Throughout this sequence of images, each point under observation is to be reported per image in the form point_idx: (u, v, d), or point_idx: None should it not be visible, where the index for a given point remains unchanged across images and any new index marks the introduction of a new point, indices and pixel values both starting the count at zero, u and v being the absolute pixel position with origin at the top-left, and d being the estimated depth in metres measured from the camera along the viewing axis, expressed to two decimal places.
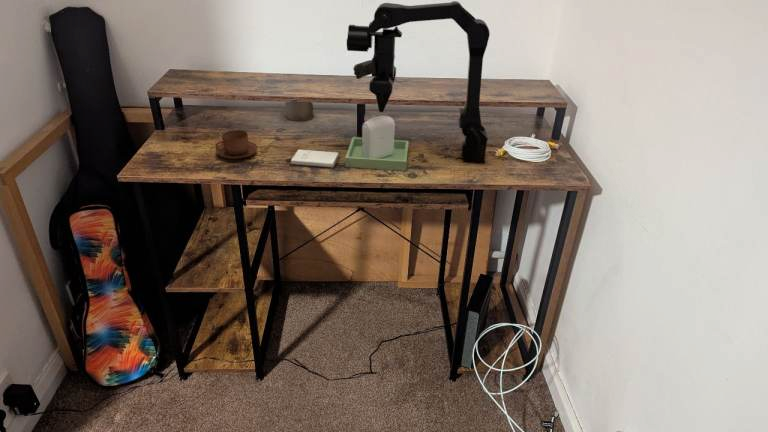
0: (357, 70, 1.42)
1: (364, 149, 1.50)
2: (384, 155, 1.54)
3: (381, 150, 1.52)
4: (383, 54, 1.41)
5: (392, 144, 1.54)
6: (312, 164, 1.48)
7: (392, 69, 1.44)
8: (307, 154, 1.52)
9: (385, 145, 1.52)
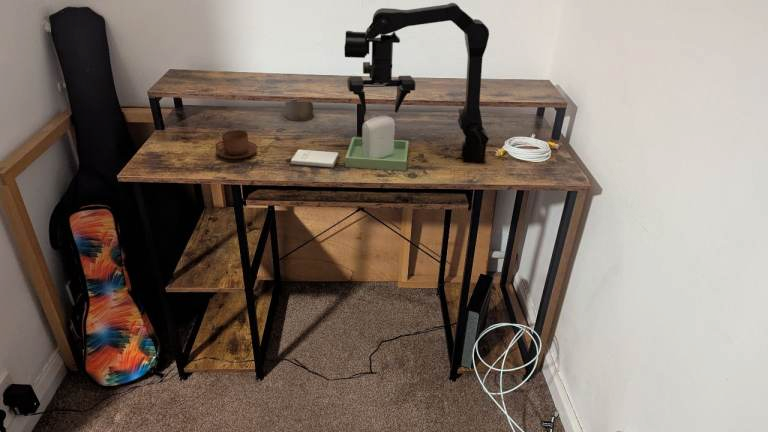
0: (363, 67, 1.49)
1: (364, 149, 1.50)
2: (384, 155, 1.54)
3: (381, 150, 1.52)
4: None
5: (392, 144, 1.54)
6: (312, 164, 1.48)
7: (378, 76, 1.41)
8: (307, 154, 1.52)
9: (385, 145, 1.52)
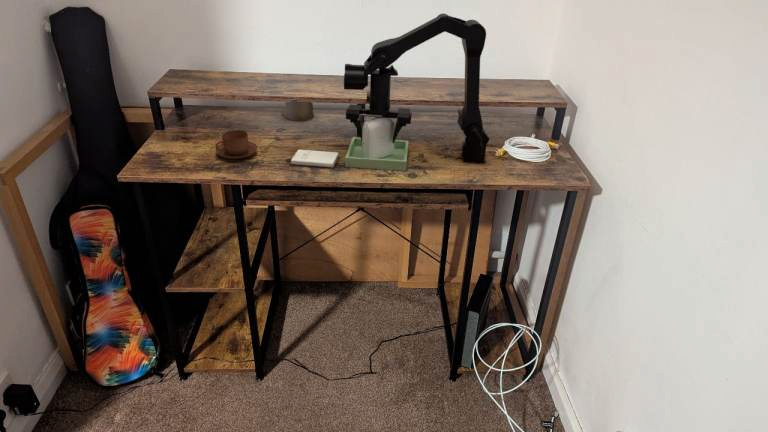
0: None
1: (364, 149, 1.50)
2: (384, 155, 1.54)
3: (381, 150, 1.52)
4: None
5: (392, 144, 1.54)
6: (312, 164, 1.48)
7: (374, 107, 1.45)
8: (307, 154, 1.52)
9: (385, 145, 1.52)
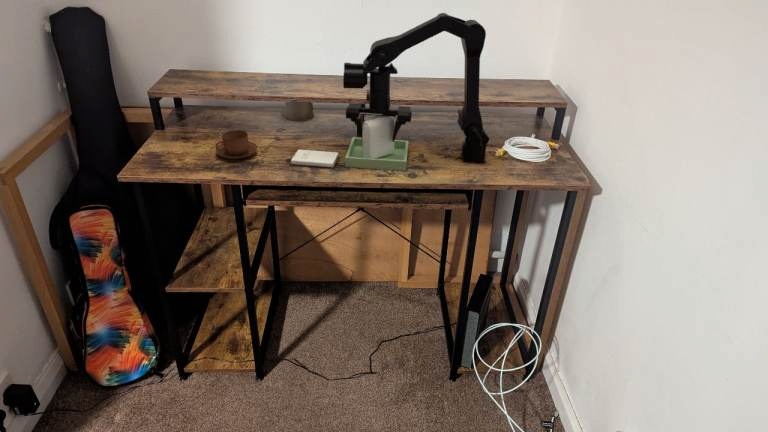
0: None
1: (364, 148, 1.50)
2: (384, 154, 1.53)
3: (382, 149, 1.52)
4: None
5: (392, 143, 1.53)
6: (312, 164, 1.48)
7: (374, 105, 1.44)
8: (307, 154, 1.52)
9: (385, 144, 1.52)
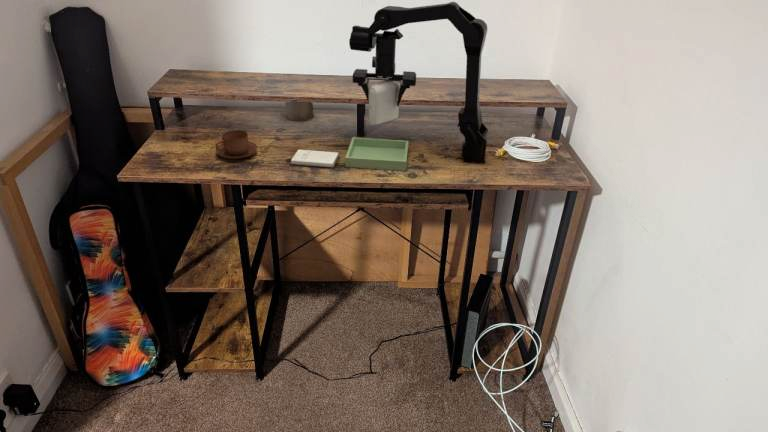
0: None
1: (371, 113, 1.55)
2: (390, 119, 1.59)
3: (387, 113, 1.57)
4: None
5: (397, 108, 1.59)
6: (312, 164, 1.48)
7: (380, 70, 1.49)
8: (307, 154, 1.52)
9: (390, 109, 1.57)
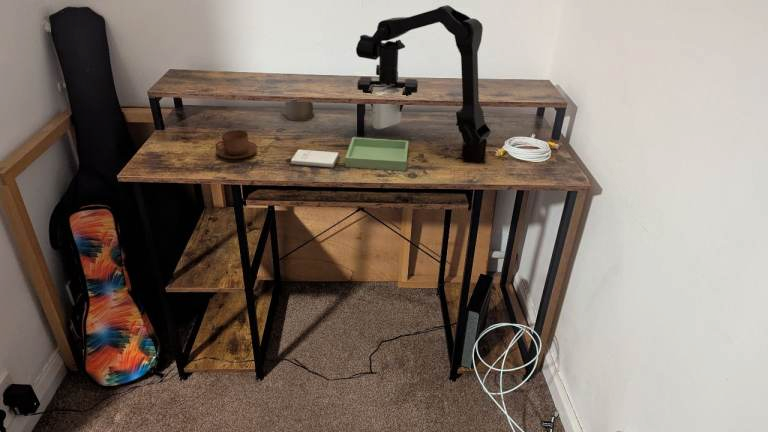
0: None
1: (375, 118, 1.64)
2: (393, 124, 1.67)
3: (390, 119, 1.66)
4: (379, 61, 1.58)
5: (400, 113, 1.68)
6: (312, 164, 1.48)
7: (383, 77, 1.58)
8: (307, 154, 1.52)
9: (393, 114, 1.66)
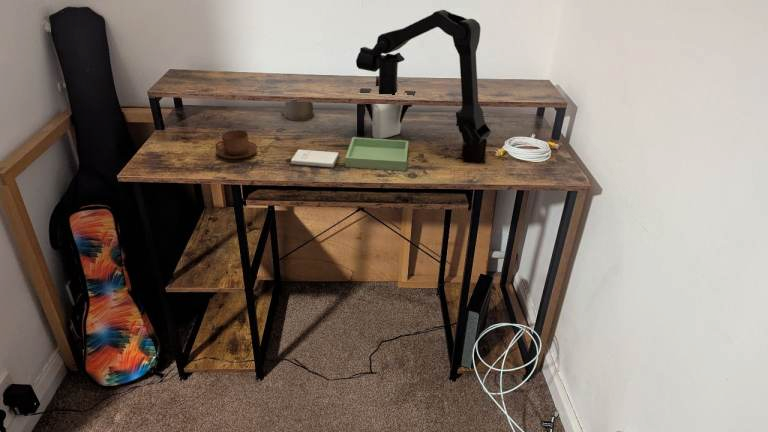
0: None
1: (374, 129, 1.66)
2: (392, 134, 1.69)
3: (390, 129, 1.68)
4: (379, 73, 1.60)
5: (399, 124, 1.70)
6: (312, 164, 1.48)
7: (383, 89, 1.60)
8: (307, 154, 1.52)
9: (393, 125, 1.68)
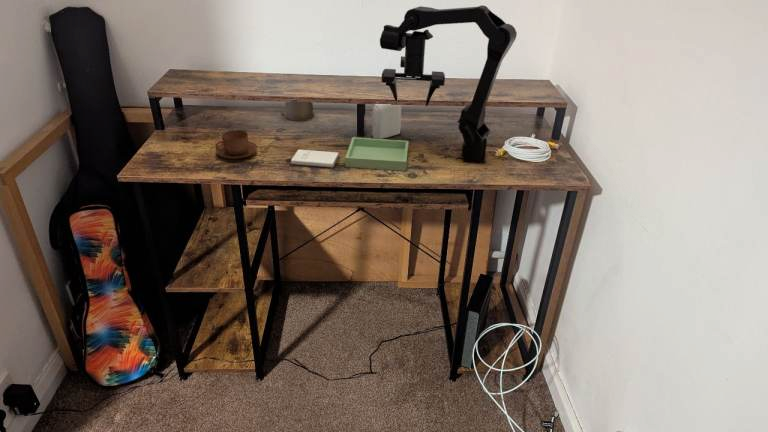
0: None
1: (374, 129, 1.66)
2: (392, 134, 1.69)
3: (390, 129, 1.68)
4: (405, 52, 1.50)
5: (399, 124, 1.70)
6: (312, 164, 1.48)
7: (409, 70, 1.50)
8: (307, 154, 1.52)
9: (393, 125, 1.68)
